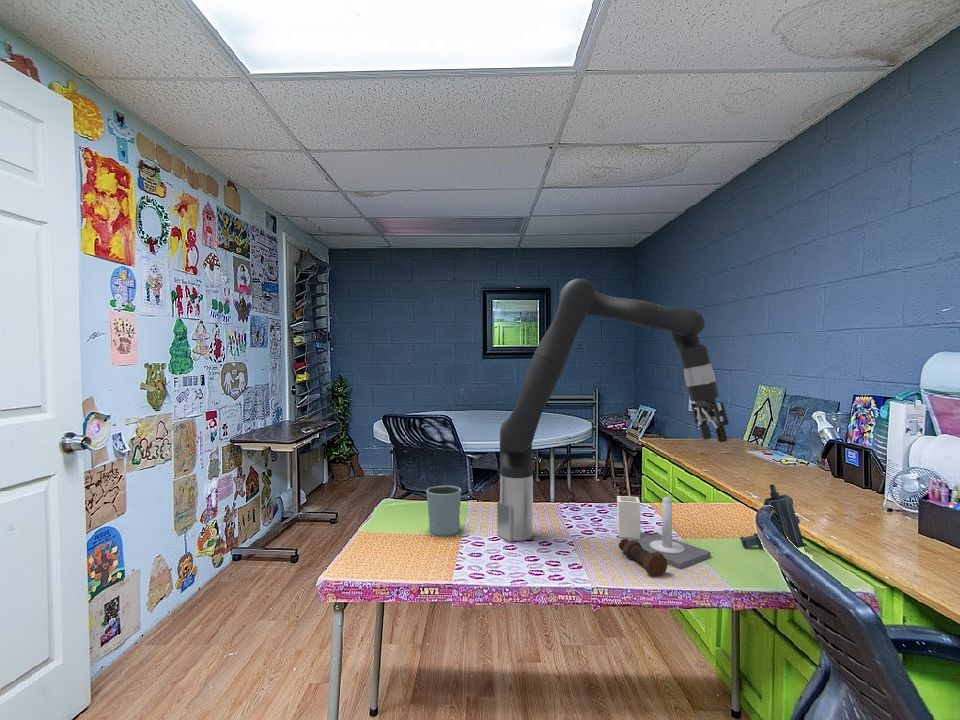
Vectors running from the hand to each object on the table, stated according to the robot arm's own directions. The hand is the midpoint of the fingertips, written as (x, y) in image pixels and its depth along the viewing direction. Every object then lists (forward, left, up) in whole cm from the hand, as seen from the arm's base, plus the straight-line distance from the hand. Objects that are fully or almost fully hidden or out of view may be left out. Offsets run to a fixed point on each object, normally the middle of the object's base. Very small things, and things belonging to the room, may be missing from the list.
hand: (715, 440), depth 135 cm
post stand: (-18, +3, -28) cm, 33 cm away
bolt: (-29, +2, -28) cm, 40 cm away
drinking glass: (-58, +49, -28) cm, 80 cm away
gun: (+7, -11, -28) cm, 31 cm away
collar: (-16, +17, -28) cm, 36 cm away
